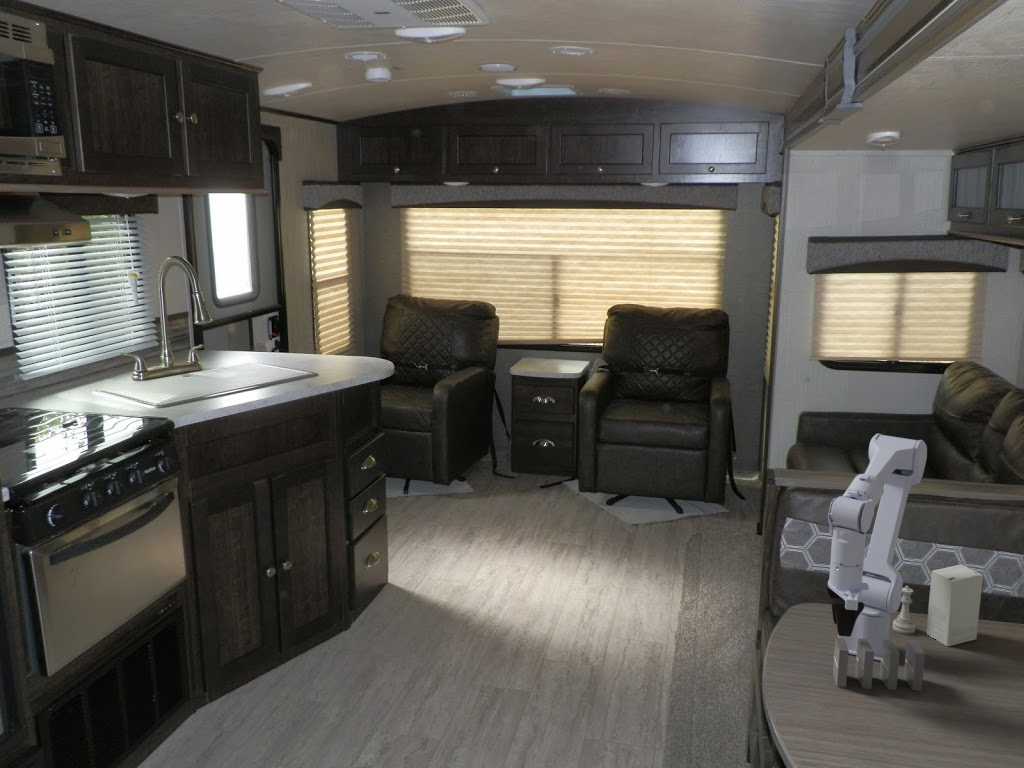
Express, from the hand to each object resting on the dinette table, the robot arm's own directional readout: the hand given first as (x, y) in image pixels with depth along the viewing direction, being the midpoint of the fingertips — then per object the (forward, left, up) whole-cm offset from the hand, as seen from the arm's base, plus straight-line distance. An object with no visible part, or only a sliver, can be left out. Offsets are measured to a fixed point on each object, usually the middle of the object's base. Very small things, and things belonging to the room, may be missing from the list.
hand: (842, 629), depth 165 cm
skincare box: (+17, +29, -11) cm, 35 cm away
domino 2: (+4, +2, -10) cm, 11 cm away
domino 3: (+8, +4, -10) cm, 14 cm away
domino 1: (0, 0, -10) cm, 10 cm away
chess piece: (+8, +28, -11) cm, 31 cm away
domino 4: (+12, +6, -10) cm, 17 cm away
